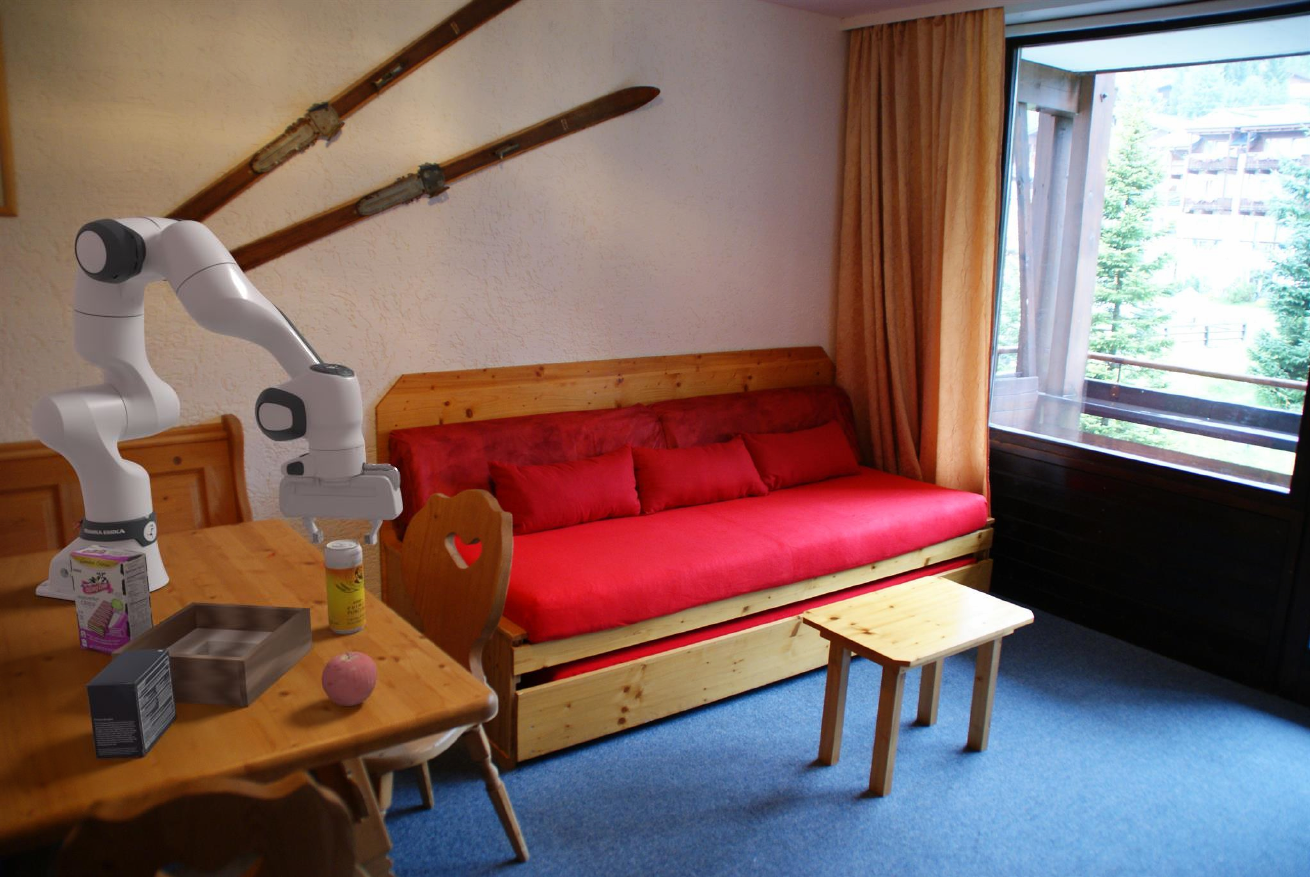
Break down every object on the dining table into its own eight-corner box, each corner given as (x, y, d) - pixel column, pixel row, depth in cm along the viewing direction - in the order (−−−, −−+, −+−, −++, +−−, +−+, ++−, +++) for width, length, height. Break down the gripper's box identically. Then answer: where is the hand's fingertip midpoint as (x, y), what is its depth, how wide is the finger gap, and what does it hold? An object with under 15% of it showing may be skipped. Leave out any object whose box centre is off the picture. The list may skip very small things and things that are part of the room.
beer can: (355, 636, 160) (350, 550, 157) (322, 633, 162) (316, 548, 159) (372, 622, 166) (368, 540, 163) (340, 620, 167) (335, 537, 164)
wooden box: (116, 698, 138) (111, 653, 137) (196, 642, 157) (192, 602, 156) (248, 706, 136) (244, 660, 134) (312, 648, 155) (309, 608, 154)
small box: (129, 719, 132) (121, 648, 130) (178, 718, 133) (171, 647, 131) (92, 759, 122) (82, 683, 120) (145, 757, 122) (137, 681, 120)
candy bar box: (78, 650, 154) (66, 552, 151) (104, 638, 159) (94, 543, 156) (131, 660, 151) (121, 560, 147) (157, 648, 155) (147, 551, 152)
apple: (356, 719, 133) (353, 665, 131) (313, 709, 135) (309, 656, 134) (388, 696, 139) (386, 644, 138) (346, 687, 142) (343, 637, 140)
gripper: (406, 459, 160) (410, 539, 163) (289, 457, 162) (295, 535, 165) (391, 468, 154) (396, 550, 156) (270, 465, 156) (277, 546, 159)
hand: (343, 543), depth 161 cm, fingers open, 8 cm apart
